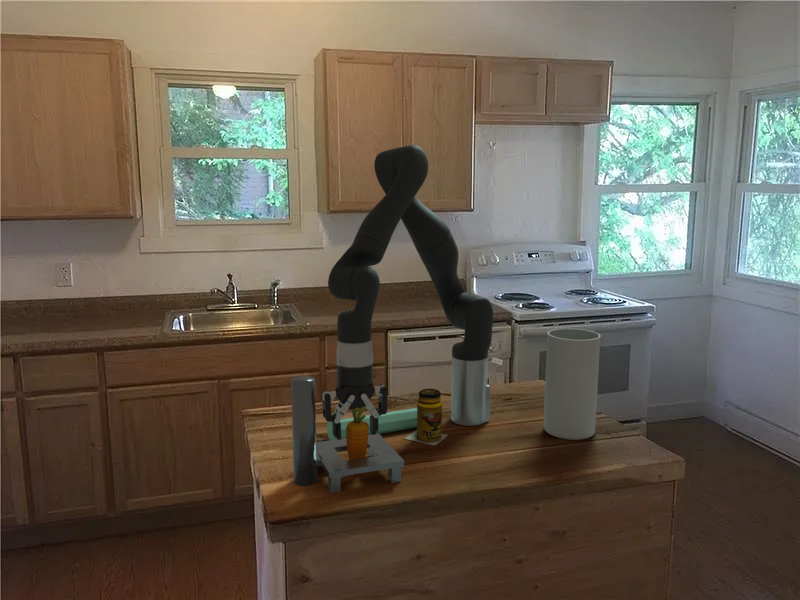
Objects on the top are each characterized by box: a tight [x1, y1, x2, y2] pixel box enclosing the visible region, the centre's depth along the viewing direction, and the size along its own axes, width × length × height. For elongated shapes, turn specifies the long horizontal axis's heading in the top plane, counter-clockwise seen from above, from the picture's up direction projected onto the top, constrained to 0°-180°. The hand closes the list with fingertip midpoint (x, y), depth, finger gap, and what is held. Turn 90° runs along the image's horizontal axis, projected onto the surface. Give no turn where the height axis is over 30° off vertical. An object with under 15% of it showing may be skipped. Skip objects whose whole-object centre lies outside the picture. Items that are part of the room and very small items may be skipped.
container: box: [326, 407, 417, 441], centre depth 165 cm, size 6×6×25 cm
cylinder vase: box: [543, 328, 601, 441], centre depth 164 cm, size 12×12×25 cm
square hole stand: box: [290, 375, 405, 495], centre depth 139 cm, size 21×16×22 cm
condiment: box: [403, 388, 449, 446], centre depth 161 cm, size 7×8×12 cm
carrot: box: [346, 406, 369, 460], centre depth 141 cm, size 5×5×15 cm
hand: (355, 435), depth 141 cm, fingers open, 7 cm apart
